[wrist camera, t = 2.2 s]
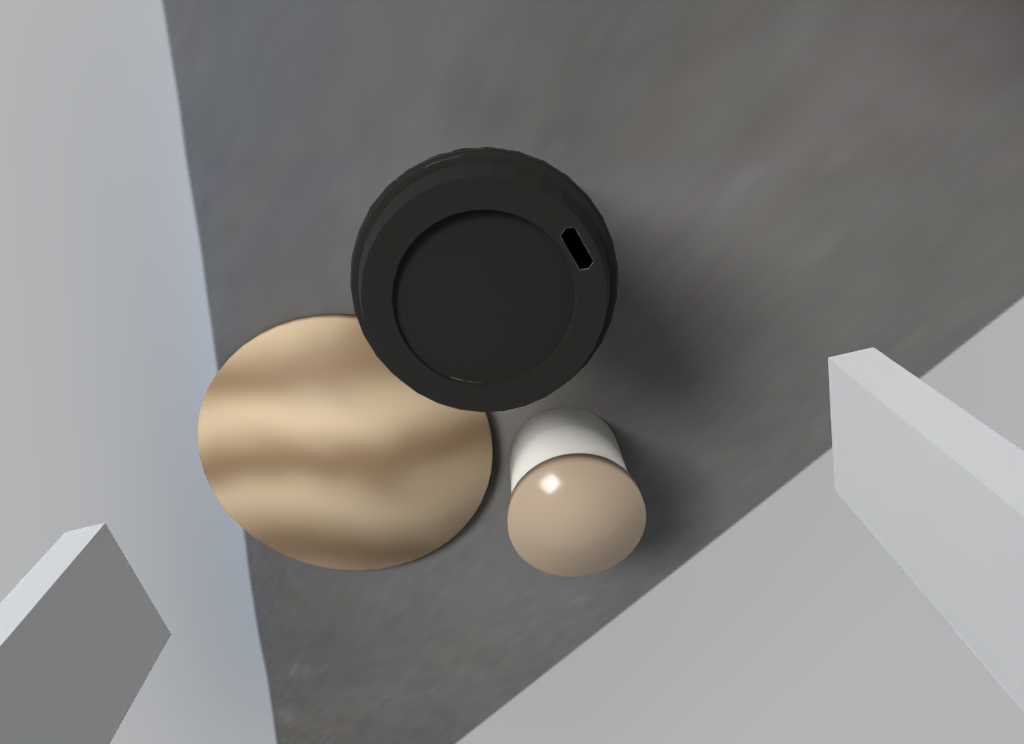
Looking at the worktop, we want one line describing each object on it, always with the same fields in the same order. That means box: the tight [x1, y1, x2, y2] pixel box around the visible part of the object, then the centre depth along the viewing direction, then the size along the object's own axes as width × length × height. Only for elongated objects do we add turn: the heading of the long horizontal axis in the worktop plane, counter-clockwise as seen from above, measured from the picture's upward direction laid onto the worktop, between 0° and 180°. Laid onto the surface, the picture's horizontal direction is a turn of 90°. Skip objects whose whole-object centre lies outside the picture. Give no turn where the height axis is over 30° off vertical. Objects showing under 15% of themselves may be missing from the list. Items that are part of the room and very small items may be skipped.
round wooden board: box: [198, 314, 493, 570], centre depth 42 cm, size 18×18×1 cm
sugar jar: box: [507, 407, 646, 577], centre depth 40 cm, size 8×8×7 cm
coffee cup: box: [350, 147, 618, 412], centre depth 30 cm, size 10×10×15 cm
